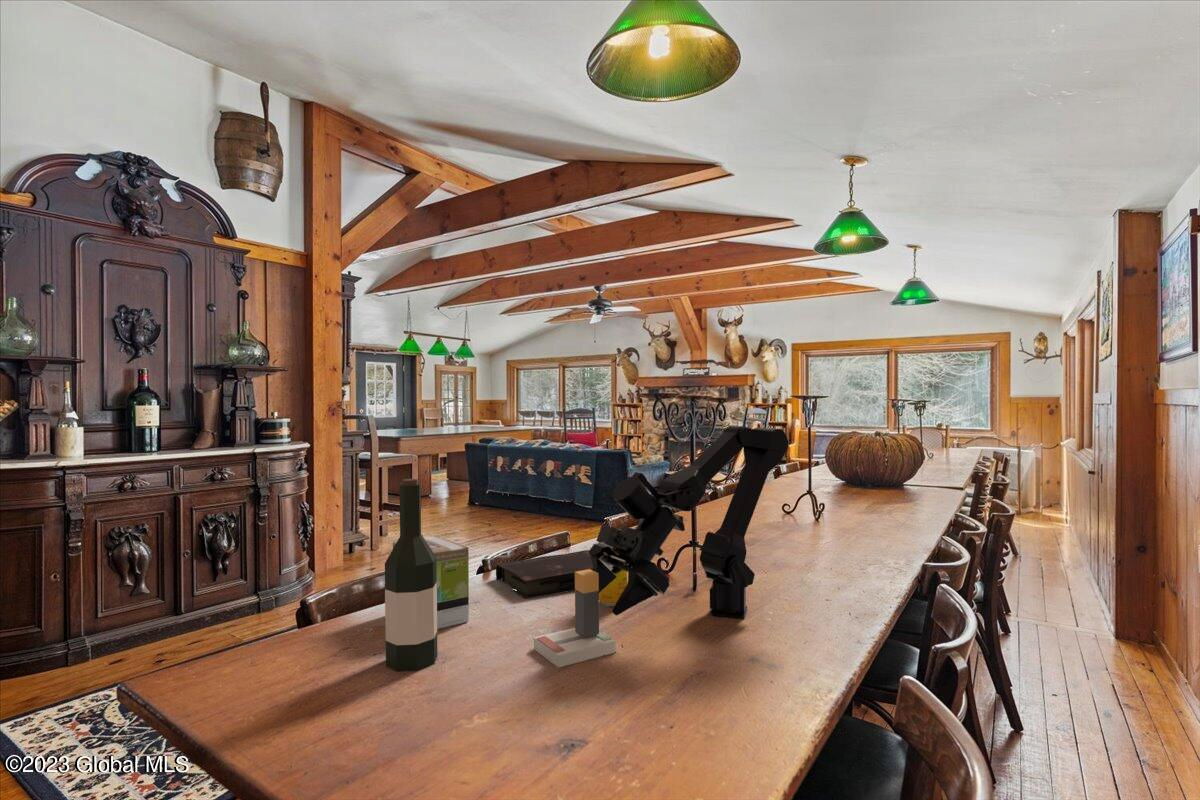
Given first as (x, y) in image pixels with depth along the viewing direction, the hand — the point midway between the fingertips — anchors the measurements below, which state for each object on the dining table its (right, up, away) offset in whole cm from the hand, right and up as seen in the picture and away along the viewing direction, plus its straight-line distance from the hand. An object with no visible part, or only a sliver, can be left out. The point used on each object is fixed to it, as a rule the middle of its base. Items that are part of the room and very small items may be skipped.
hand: (599, 606), depth 112 cm
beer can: (+3, -7, +23) cm, 24 cm away
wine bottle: (-31, -7, -6) cm, 32 cm away
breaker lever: (-2, -4, -1) cm, 5 cm away
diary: (-10, -7, +39) cm, 41 cm away
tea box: (-34, -7, +15) cm, 37 cm away
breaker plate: (-4, -7, -3) cm, 8 cm away
